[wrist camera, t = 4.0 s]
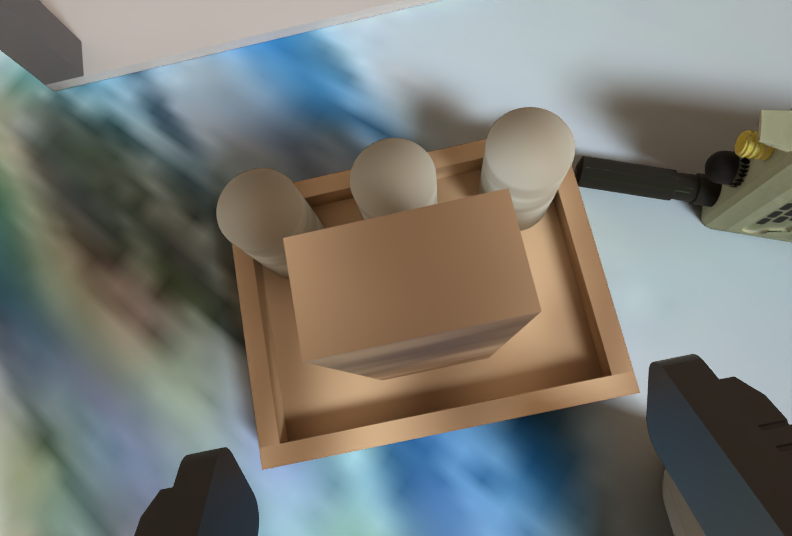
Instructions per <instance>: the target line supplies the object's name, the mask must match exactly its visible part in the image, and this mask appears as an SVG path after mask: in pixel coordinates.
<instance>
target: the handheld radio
mask: <svg viewBox="0 0 792 536" xmlns="http://www.w3.org/2000/svg"><path fill="white" fill-rule="evenodd" d="M575 178H576V181H577V184H578V186H579V187H586V188H592V189H599V190H605V191H611V192H618V193H624V194H631V195H637V196H643V197H650V198H656V199H663V200H670V199H676V200H683V201H689V203H690V204H695V205H701V206H702V214H701V221H702V222H703V224H704V225H705V226H707V227H709V228H711V229H715V230H721V231H727V232H733V233H739V234H745V235H751V236H757V237H763V238H769V239H775V240H781V241H787V242H792V108H791V109H790V110H789V111H780V110H760V115H759V124H758V132H757V131H754V132H752V131H750V130H747V131H745V132H742V133H741V134H740V135H739V137H738V138H737V141H736V144H735V151H734V152H731V151H719V152H716V153H714V154H713V155H711V156H710V157H709V159H708V160H707V162H706V165H705V174H700V173H698V174H696V175H692V174H685V173H678V172H677V171H676V170H670V169H664V168H657V167H651V166H644V165H638V164H631V163H625V162H618V161H612V160H605V159H599V158H592V157H586V156H582V158H581V159H580V161H579V163H578V164H577V166H576V170H575Z"/></svg>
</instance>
